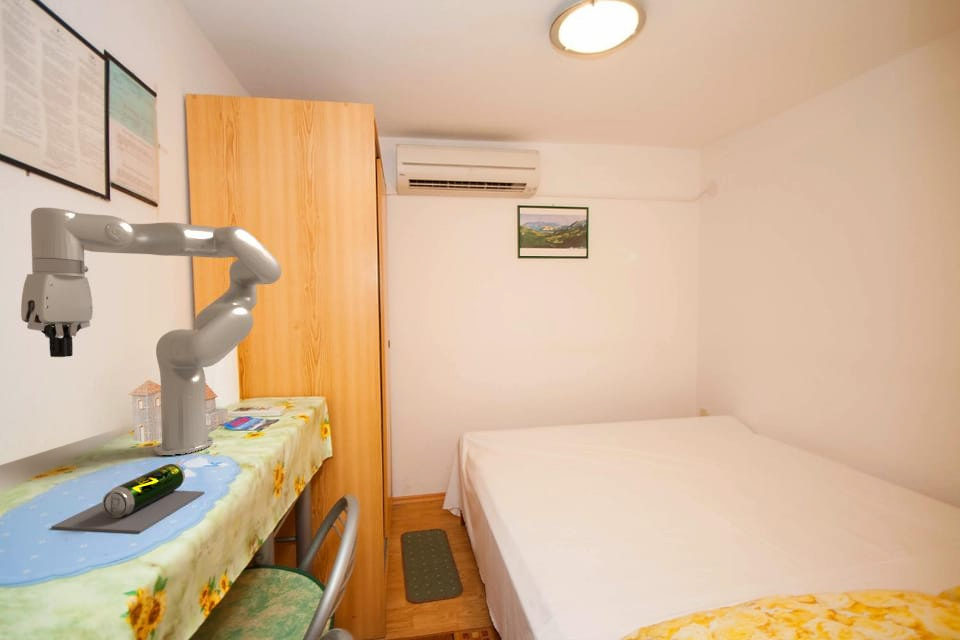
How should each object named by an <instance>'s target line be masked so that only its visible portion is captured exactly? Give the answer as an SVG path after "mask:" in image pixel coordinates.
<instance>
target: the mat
mask: <svg viewBox="0 0 960 640" xmlns="http://www.w3.org/2000/svg"><path fill="white" fill-rule="evenodd" d="M204 494H205V491H198V490H197V491H196V490H177V489H176V490H174V491H172V492H170V493H168V494H166V495H164V496H163V497H161V498H159V499H157V500H155V501H153V502H151V503H149V504H148V505H146V506H144V507H142V508H140V509H138V510H136V511H134V512H132V513H131V514H129V515H126V516H122V517H120V518H112V517H110V516H108V515H107V514H106V513H105V511H104V509H103V506H102V501H101V502H99V503H98V504H95V505H93V506H91V507H89V508H87V509H85V510H83V511H80V512H78V513H76V514H75V515H72V516H70V517H68V518H66V519H63V520H62V521H59V522H58V523H55V524H53V525H52V526H51V530H52V529H54V530H66V531H67V530H68V531H69V530H71V531H72V530H73V531H88V530H89V531H92V532H111V533H132V534H141V533H142V532H144V531H146V530H147V529H149V528H151V527H152V526H154V525H155V524H157V523H159V522H161V521H162V520H164V519H165V518H167V517H169V516H170V515H172V514H174V513H176V512H177V511H179V510H181V508H183V507H186V506H187V505H188V504H190V503H192V502H194V501H195V500H196V499H198V498H200V497H202V496H203V495H204Z"/></svg>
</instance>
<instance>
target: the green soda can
mask: <svg viewBox="0 0 960 640" xmlns="http://www.w3.org/2000/svg"><path fill="white" fill-rule="evenodd" d="M185 479H186V473H185V470H184V469H183V468H182V466H180V465H179V464H176V463H168V464H165V465H163V466H160V467H158V468H156V469H154V470H152V471H149V472H147V473H145V474H142V475H140V476H137V477H136V478H133V479H131V480H129V481H127V482H125V483H122V484H120V485H118V486H115V487H114V488H112V489H111V490H109V491H108V492H107V493H105V495H104V496H103V497H102V501H101V502H102V506H103V509H104V511H105V513H106V514H107V515H108V516H110V517H112V518H120V517H122V516H126V515H129V514H131V513H132V512H134V511H136V510H138V509H140V508H142V507H144V506H146V505H148V504H149V503H151V502H153V501H155V500H157V499H159V498H161V497H163V496H164V495H166V494H168V493H170V492H172V491H174V490H177V489H179V488H180V487H181V486H182V484H183V483H184V481H185Z"/></svg>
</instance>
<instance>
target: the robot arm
mask: <svg viewBox="0 0 960 640" xmlns="http://www.w3.org/2000/svg"><path fill="white" fill-rule="evenodd" d="M30 232H31V233H30V236H31V237H30V238H31V241H30V243H31V270H32V271H31V272H32V273H31V274H30V273H29V274H27V275H26V278H25V280H24V282H23V283H24V284H23V288H22V295H21V303H20V304H21V306H20V317H21V321H22V322H24V323H26V324H27V327H26V328H27V329H28V330H32V331H39V332H41V333H43V334H44V336H45V337H46V338H47V339H49V342H48V343H49V354H50V355H49V356H50V357H51V358H65V357H72V356H73V350H74V349H73V338H75V337H76V336H77V333H78V332H79V331H80V330H82V329H85V328H90V326H91V322H90V321H91V320H92V319H93V311H94V310H93V307H94V306H93V298H92V291H91V287H90V284H89V279H88V277H86V275H85V273H87V272H88V271H89V267H88V266H86V265H85V251H87V252H91V253H93V252H95V253H110V254H111V253H112V254H113V253H114V254H130V255H131V254H133V255H134V254H136V255H137V254H138V255H140V254H141V255H151V256H152V255H154V256H172V257H174V256H175V257H198V258H217V259H223V258H237V259H235V260H234V261H233V262H231V265H230V267H229V271H228V272H229V287H228V289H227V290H226V291H225V292H224V293H222V295H221V296H219V297H218V298H216V300H214V301H213V302H211V303H210V304H209V305H208V306H206V307H205V308H203V309H202V310H201V311H200V312H198V314H197V315H196V317H195V319H194V324H193V325H194V327H195V329H185V328H184V329H181V328H180V329H179V328H178V329H173V330H170V331H168V332H166V333H164V334H163V335H162V336H161V337H160V338H158V339H159V340H158V341H157V344H156V348H155V355H156V361H157V365H158V369H159V374H160V375H159V376H160V377H159V378H160V410H161V411H160V412H161V413H160V417H161V418H160V420H161V421H160V423H161V443H159V444H157V445H156V446H154V448H153V451H154V452H153V453H154V454H155V455H157V456H162V455H172V456H176V455H175V454H181V455H186V454H185V453H187V454H190V453H191V452H192V453H195V451H196V452H199V451H202V450H205V449H207V448H209V447H210V446H212V445H213V444H214V438H213V437H211V436H210V435H209V434H210V433H211V432H214V431H216V430H217V429H218V428H219V427H218V424H217V423H215V422H214V423H212V424H209V425H207V410H206V409H207V406H206V402H207V399H206V397H207V396H206V394H207V393H206V389H207V388H206V387H207V386H206V374H205V371H204V368H208V367H212V366H214V365H216V364H217V363H219V362H221V360H223V359H224V358H225V357H227V355H229V354H230V353H231V352H232V351H233V350H234V349H235V348H236V347H237V346H238V345H239V344H240V343H242V342H243V341H244V340H245V339H246V338H247V337H248V336H249V334H250V333H251V332H252V330H253V327H254V315H253V314H252V312H251V311H252V310H253V309H254V308H255V307H256V305H257V302H258V287H257V286H258V285H271V284H275V283H276V282H277V281H278V280H280V278H281V275H282V266H281V264H280V263H279V261H278V258H276V256H274V255H273V254H272V252H270V251H269V250H268V249H267V248H266V246H264V244H263V243H262V242H260V241H259V239H258V238H257V237H255V236H254V234H252V233H251V232H249V231H248V230H247V229H245V228H243V227H241V226H237V225H231V226H224V227H221V226H220V227H218V226H217V227H215V226H206V225H197V224H188V223H180V222H168V221H167V222H154V223H152V222H151V223H129V222H128V221H126V220H125V219H122V218H121V217H117V216H113V215H107V214H93V213H91V214H90V213H80V212H75V211H73V210H68V209H62V208H55V207H35V208H34V209H32V210H31V213H30ZM212 443H213V444H212ZM211 444H212V445H211ZM208 446H209V447H208ZM206 447H207V448H206ZM204 448H205V449H204ZM201 449H202V450H201ZM198 450H199V451H198ZM192 453H191V454H192Z"/></svg>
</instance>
